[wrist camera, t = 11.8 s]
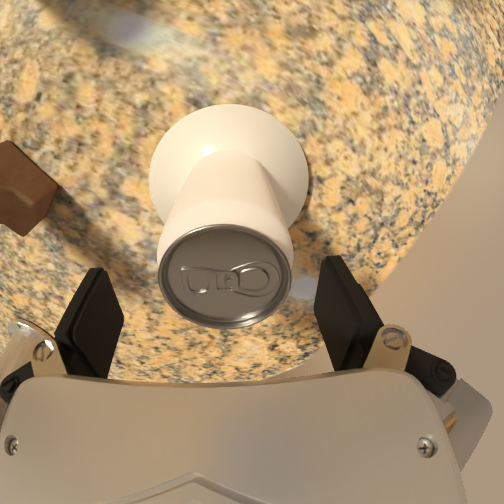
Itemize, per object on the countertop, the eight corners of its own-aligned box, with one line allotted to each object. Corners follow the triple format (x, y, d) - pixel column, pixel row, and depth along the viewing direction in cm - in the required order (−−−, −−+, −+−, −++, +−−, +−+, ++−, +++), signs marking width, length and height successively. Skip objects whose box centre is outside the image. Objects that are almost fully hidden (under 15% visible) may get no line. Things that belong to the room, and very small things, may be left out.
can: (266, 222, 23) (292, 332, 13) (190, 224, 23) (164, 335, 13) (269, 147, 20) (311, 213, 10) (184, 149, 19) (133, 217, 9)
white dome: (299, 245, 26) (302, 251, 25) (163, 250, 25) (161, 256, 24) (309, 105, 19) (313, 105, 18) (144, 111, 18) (140, 112, 17)
